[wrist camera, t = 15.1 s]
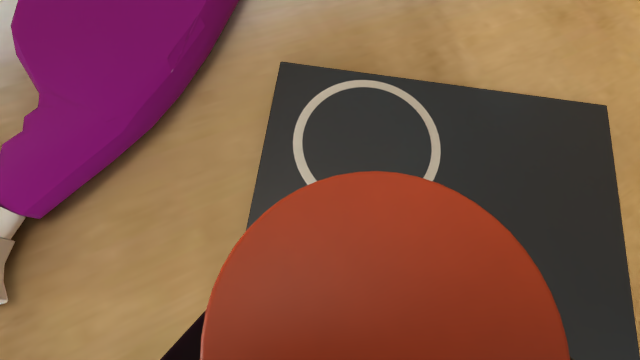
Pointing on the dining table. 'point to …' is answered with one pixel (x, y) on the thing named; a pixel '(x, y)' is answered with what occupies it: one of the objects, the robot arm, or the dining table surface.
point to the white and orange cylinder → (380, 280)
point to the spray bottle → (94, 91)
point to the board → (473, 175)
